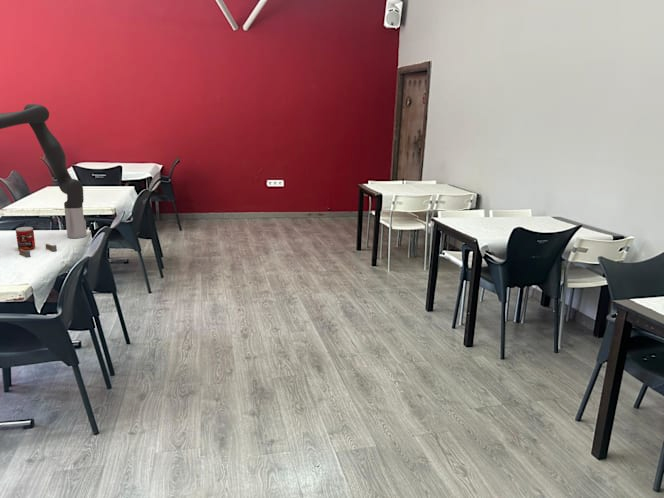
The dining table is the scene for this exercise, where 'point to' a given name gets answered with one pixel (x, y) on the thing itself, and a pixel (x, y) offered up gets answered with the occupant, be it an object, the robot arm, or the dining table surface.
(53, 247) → the posts
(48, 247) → the channel walls
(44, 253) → the dining table surface
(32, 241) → the canned food
